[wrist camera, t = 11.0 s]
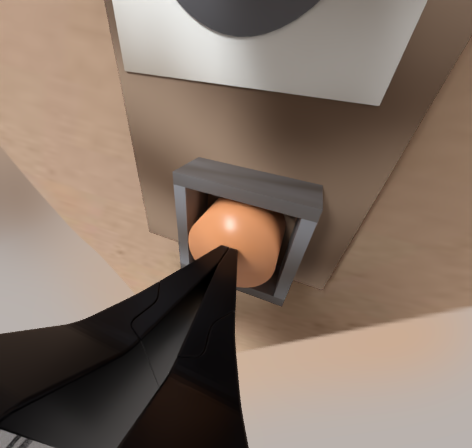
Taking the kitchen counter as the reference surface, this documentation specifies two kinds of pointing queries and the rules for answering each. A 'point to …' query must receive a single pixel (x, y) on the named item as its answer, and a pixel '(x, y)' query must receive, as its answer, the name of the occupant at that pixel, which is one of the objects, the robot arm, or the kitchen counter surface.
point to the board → (278, 111)
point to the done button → (241, 238)
